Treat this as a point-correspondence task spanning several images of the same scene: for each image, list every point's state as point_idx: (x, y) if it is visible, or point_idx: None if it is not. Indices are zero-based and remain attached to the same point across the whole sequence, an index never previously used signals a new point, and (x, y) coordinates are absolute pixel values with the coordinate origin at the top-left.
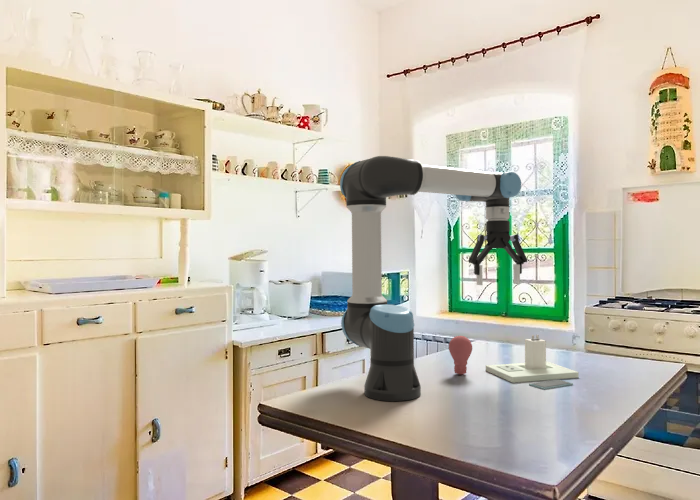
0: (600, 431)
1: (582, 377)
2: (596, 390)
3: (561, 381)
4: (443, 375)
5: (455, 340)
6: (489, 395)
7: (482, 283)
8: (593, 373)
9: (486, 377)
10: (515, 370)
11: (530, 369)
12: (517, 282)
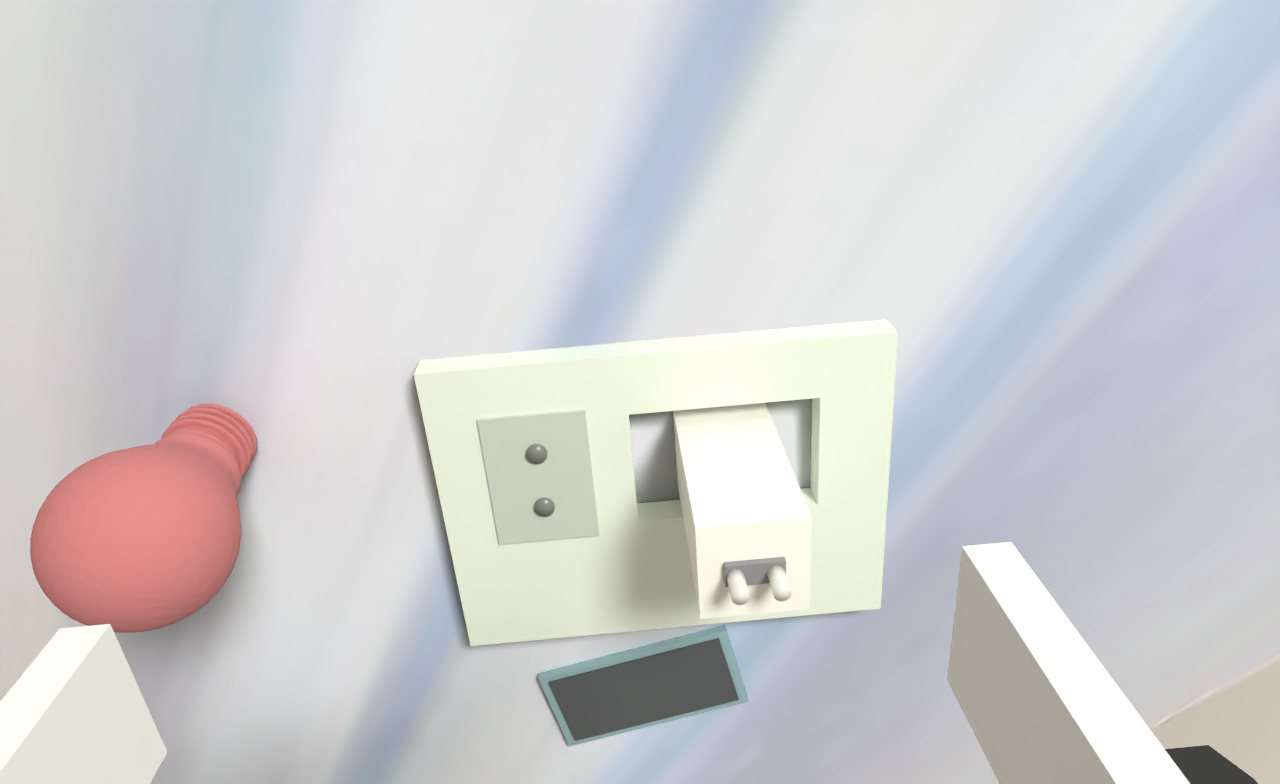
0: None
1: (893, 589)
2: (787, 772)
3: (713, 674)
4: (107, 429)
5: (61, 610)
6: (289, 778)
7: (151, 778)
8: (1016, 526)
9: (371, 512)
10: (547, 539)
11: (678, 474)
12: (961, 691)
